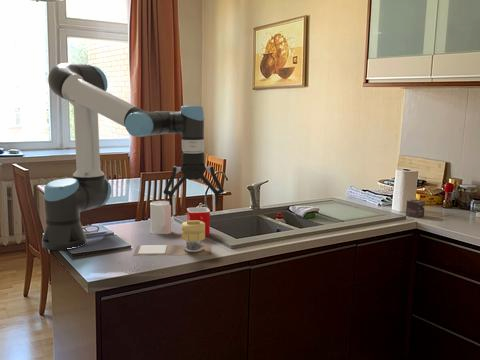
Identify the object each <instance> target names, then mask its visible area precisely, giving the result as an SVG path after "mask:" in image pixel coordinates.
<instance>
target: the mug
mask: <svg viewBox="0 0 480 360" xmlns="http://www.w3.org/2000/svg"><path fill="white" fill-rule="evenodd" d="M149 204H150V205H149V206H150V231H149V232H150V234H152V235H169V234H171V233H172V232H173V229H172V205H170V204H169V200H155V201H151V202H150V203H149Z"/></svg>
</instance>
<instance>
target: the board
mask: <svg viewBox="0 0 480 360" xmlns="http://www.w3.org/2000/svg"><path fill="white" fill-rule="evenodd" d="M166 245H167V248H166V252H165V254H152V255H138V252H139V250H140V247H141V245H136V248H135V250H134V253H133V254H132V257H146V256H147V257H149V256H153V257H154V256H158V257H159V256H200V255H201V256H203V255H204V256H206V255H207V256H211V255H212V245H211V244H201V245H202V246H203V247H204V250H203V251H202V252H198V253H188V252H185V251H184V250H183V247H184V246H186V244H166Z"/></svg>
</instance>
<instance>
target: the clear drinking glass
mask: <svg viewBox="0 0 480 360" xmlns="http://www.w3.org/2000/svg"><path fill="white" fill-rule="evenodd" d="M201 242H202V240H200V241H186V240H185V245H186V246H184V247H183V250H184V251H185V252H188V253H198V252H202V251H203V250H204V247H203V246H202V245H203V244H202V243H201Z"/></svg>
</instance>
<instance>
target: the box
mask: <svg viewBox="0 0 480 360" xmlns="http://www.w3.org/2000/svg"><path fill="white" fill-rule="evenodd" d="M425 203H426V200H421V199H420V200H419V199H415V198H413V199H407V200H406V206H405V207H406V209H405V216H406V217H410V218H411V217H412V218H415V219H419V218H423V217H425V208H426V207H425V205H426V204H425Z"/></svg>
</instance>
